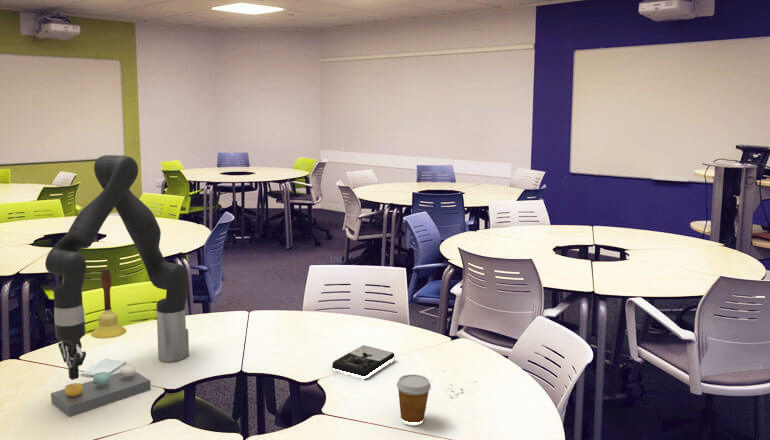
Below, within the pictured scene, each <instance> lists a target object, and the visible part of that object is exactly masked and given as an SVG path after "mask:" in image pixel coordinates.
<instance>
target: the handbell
mask: <svg viewBox="0 0 770 440" xmlns="http://www.w3.org/2000/svg"><path fill="white" fill-rule="evenodd" d="M100 278H101V279H100V281H101V287H102V290H103V299H104V300H103V301H104V303H103V304H104V310H103V312H102V313H101V314H100V315H99V316H98V325H97V327H96V328H95V329H94V330H93V331H92V332H91V334H90V335H91V337H92V338H94V339H113V338H118V337H120V336H121V337H122V336H123V335H125V334H126V333H127V329H126V328H125V327H124V326H122V325H121V324H120V323H119V318H118V314H117V313H116V312H114V311H112V306H111V289H112V276H111V271H110V268H109V267H105V268H102V271H101V277H100Z"/></svg>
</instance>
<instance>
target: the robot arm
mask: <svg viewBox="0 0 770 440" xmlns="http://www.w3.org/2000/svg"><path fill="white" fill-rule="evenodd" d="M93 171H94V175H95V178H96V180H97V182H98V183H99V186H101V188H102V189H103V190H102V191H101V192H100V193H99V194H98V195H97V196H96V197H95V198H94V199H93V200H91V201H90V202H89V203H88V204H87V205H85V207H84V208H83V209H82V210H80V212H79V213H78V214H77V215H76V216H75V219H74V220H73V222H72V224H71V226H70V228H69V229H68V232H67V233H66V234H65V235H64V236H63V237H62V238H61V239H60V240H59V241H58V242H57V243H56V244H55V245H54V246H53V247H52V248H51V249H50V250H49V252H48V254H47V255H46V258H45V263H44V265H45V269H46V271H47V272H48V273H49V274H51V275H55V276H60V277H63V283H59V284H57V285H56V286H55V287H54V288H53V301H54V303H53V304H54V311H53V312H54V314H53V315H54V317H53V319H54V329H55V338H56V340H59V341H61V342H58V349H59V352H60V354H61V357H62V360H63V362H64V363H66V366H67V368H68V369H67V370H68V378H69V380H72V381H74V380H77V379H79V377H80V371H79V367H80V366H82V365H83V363H84V361H85V358H86V356H87V352H86V351H82V342H81V339H82V338H83V337H85V335H86V319H85V310H84V305H83V303H84V302H83V285H84V282H85V277H86V273H87V261H86V258H85V257H84V255H83V254H82V253H80V252H79V251H80V250H83V249H88V248H90V247H91V246H92V244H93V242H94V241H95V239H96V238H97V236H98V234H99V232H100V229H101V228H102V226H103V225H104V223H105V221H106V220H107V218H108V217H109V215H110V214H111V213H112V211H113V210H114V209H115V210H116V212H117V214H118V215H119V217H120V219H121V220H122V222H123V225H124V227H125V230H126V231H127V233H128V235H129V237H130V238H131V240H132V242H133V244H134V246H135V247H136V250H137V252H138V253H139V256H140V257H141V260H142V262H143V265H144V268H145V271H146V273H147V276H148V279H149V281H150V283H151V284H152V285H153V286H154V287H155V288H158V289H160V290H165V292H166V295H165V297H164V298H162V299H159V300H158V301H157V302H156V324H157V325H156V327H157V329H156V330H157V355H158V356H157V357H158V360H159V361H161V362H165V363H171V362H173V363H174V362H178V361H183V360H184V359H185V358H187V357H189V355H190V354H189V353H190V349H189V348H190V344H189V343H190V341H189V329H188V328H187V324H186V319H187V318H186V303H187V299H188V282H189V280H188V278H189V277H188V271H187V269H186V267H185V266H184V265H182V264H181V263H180V264H179V263H175V262H168V261H167V260H166V259H165V258H164V255H163V254H162V251H161V249H160V243H161V242H160V241H161V235H162V233H161V228H160V226H159V223H158V221H157V219H156V217H155V215H154V213H153V211H152V210H151V209H150V208H149V207H148V206H147V205H146V204H145V203H144V202H143V201H142V200H140V199H139V197H137V196H136V195H135V194H134V193H133V192H132V191H131V189H130V188H131V187H132V186H133V184H134V183H135V182H136V179H137V178H138V175H139V166H138V163H137V162H136V160H135V158H133V157H130V156H128V155H117V154H116V155H114V154H106V155H101V156H99V157H98V158H97V159H95V162H94V166H93Z"/></svg>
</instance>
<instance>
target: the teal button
mask: <svg viewBox="0 0 770 440" xmlns="http://www.w3.org/2000/svg"><path fill="white" fill-rule="evenodd" d="M92 381H93V382H94V384H97V385H101V384H106V383H108V382H109V381H110V374H109V373H108V372H100V373H96V374H94V375H93V378H92Z"/></svg>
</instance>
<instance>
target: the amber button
mask: <svg viewBox="0 0 770 440" xmlns="http://www.w3.org/2000/svg"><path fill="white" fill-rule="evenodd" d="M82 384H83V383H81V382H73V383H69V384H67V385H66V386H65V387H64V389H65V394H66V396H77V395H80V394H81V393H82V392H83V389H82Z"/></svg>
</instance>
